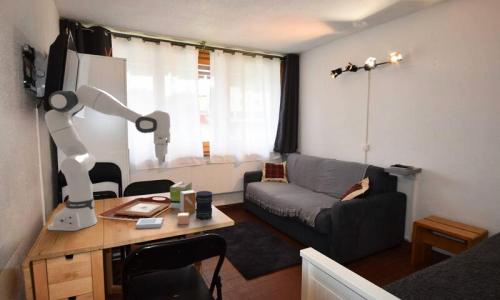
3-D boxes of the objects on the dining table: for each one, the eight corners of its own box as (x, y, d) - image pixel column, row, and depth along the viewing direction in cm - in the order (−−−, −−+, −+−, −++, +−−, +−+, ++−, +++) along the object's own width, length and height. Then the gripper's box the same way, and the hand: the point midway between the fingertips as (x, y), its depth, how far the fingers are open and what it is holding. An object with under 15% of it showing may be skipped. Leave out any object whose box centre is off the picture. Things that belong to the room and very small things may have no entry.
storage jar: (197, 221, 156) (197, 196, 155) (194, 215, 165) (194, 191, 164) (214, 219, 160) (214, 194, 158) (210, 213, 169) (210, 190, 167)
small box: (183, 214, 167) (183, 193, 166) (180, 211, 172) (179, 191, 171) (195, 212, 171) (195, 192, 170) (192, 209, 177) (192, 189, 175)
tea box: (178, 201, 193) (178, 181, 191) (192, 202, 191) (192, 181, 190) (169, 208, 178) (169, 186, 176) (184, 209, 177) (184, 187, 175)
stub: (177, 224, 150) (177, 215, 149) (178, 221, 155) (178, 212, 154) (188, 223, 151) (188, 215, 150) (189, 220, 156) (189, 212, 155)
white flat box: (135, 228, 144) (135, 224, 144) (139, 221, 153) (139, 218, 153) (161, 227, 147) (161, 223, 146) (163, 220, 155) (163, 217, 155)
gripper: (159, 138, 162) (159, 160, 163) (152, 140, 142) (153, 166, 143) (170, 138, 163) (169, 160, 164) (165, 141, 143) (165, 166, 144)
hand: (161, 163), depth 154 cm, fingers open, 8 cm apart
